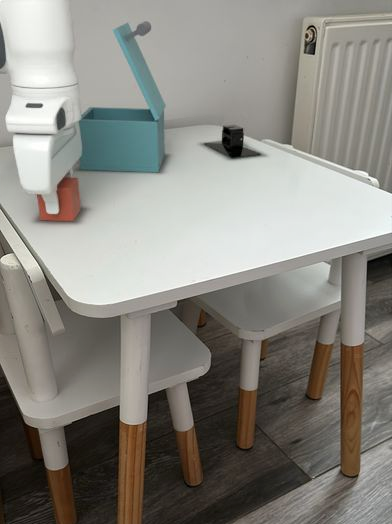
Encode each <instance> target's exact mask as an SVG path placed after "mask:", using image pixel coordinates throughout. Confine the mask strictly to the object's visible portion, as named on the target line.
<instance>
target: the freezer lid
mask: <svg viewBox="0 0 392 524" xmlns="http://www.w3.org/2000/svg"><path fill="white" fill-rule="evenodd" d="M151 30H152V24H151V23H150V21H148V20H145V21H142V22H141V23H138V24H137V26H136V28H135V30H133V31H132V28H131V26H130V24H129V22H126V23H123V24H122V25H119V26H118V27H116V28H114V29H112V32H113V34H114V36H115V37H116V40H117V43H118V44H119V47H120V48H121V51H122V53H123V55H124V57H125V59H126V62H127V63H128V66H129V68H130V70H131V72H132V74H133V77H134V79H135V81H136V83H137V86H138V87H139V90H140V92H141V93H142V96H143V97H144V100H145V102H146V104H147V107H148V109H150V111H151V113H152V115H153V117H154V119H155V121H156V120H158V119H159V118H160V116H161V114H162V112H163V110H164V111H165V108H166V103H165V101H164V99H163V97H162V94H161V92H160V90H159V88H158V85H157V84H156V82H155V79H154V77H153V75H152V72H151V70H150V68H149V65H148V64H147V61H146V59H145V57H144V55H143V52H142V50H141V49H140V46H139V44H138V42H137V39H136V37H137V36H140V37H144V36H146V35H147V34H148V33H150V32H151Z"/></svg>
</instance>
